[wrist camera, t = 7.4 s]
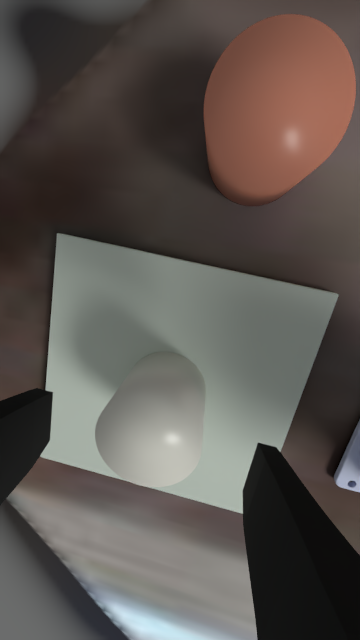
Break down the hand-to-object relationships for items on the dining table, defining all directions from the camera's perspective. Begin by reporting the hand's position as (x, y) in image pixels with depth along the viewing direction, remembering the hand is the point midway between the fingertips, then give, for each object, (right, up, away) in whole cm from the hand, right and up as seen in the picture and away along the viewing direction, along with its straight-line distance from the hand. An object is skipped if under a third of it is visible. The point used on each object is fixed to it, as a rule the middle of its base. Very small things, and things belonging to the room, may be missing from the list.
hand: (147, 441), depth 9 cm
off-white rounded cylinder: (0, 0, +8) cm, 8 cm away
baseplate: (0, 0, +9) cm, 9 cm away
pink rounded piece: (+5, +13, +5) cm, 15 cm away
